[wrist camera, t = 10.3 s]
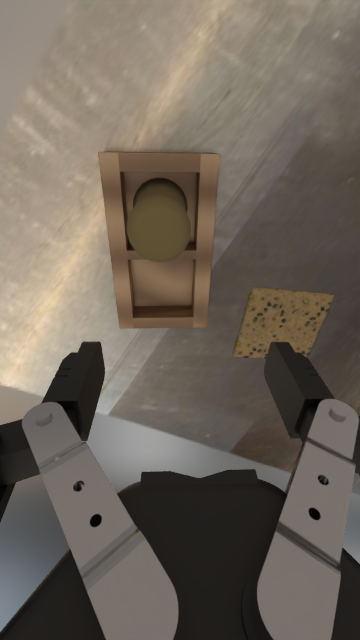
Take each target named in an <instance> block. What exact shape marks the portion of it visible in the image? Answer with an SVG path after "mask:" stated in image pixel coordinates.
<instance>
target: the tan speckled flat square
mask: <svg viewBox="0 0 360 640" xmlns="http://www.w3.org/2000/svg"><path fill="white" fill-rule="evenodd" d="M333 297H334V294H325V293H314V292H303V291H292V290H283V289H271V288H261V287H252V290H251V293H250V294H249V300H248V302H247V306H246V310H245V314H244V317H243V320H242V324H241V328H240V331H239V335H238V338H237V341H236V345H235V348H234V351H233V356H236V357H244V358H249V357H250V358H267V354H268V350H269V346H270V343H271V342H289V343H290V345H291V346H292V348H293V349H294V351H295V352H300V353H301V354H302V355H304V356H305V357H307V356H308V355H309V354H310V350H311V349H312V345H313V343H314V341H315V339H316V336H317V333H318V331H319V328H320V326H321V324H322V322H323V320H324V319H325V317H326V314H327V313H328V312H329V310H330V305H331V304H332V300H333Z"/></svg>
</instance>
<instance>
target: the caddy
mask: <svg viewBox="0 0 360 640" xmlns="http://www.w3.org/2000/svg"><path fill="white" fill-rule="evenodd" d="M98 156H99V164H100V172H101V180H102V188H103V196H104V205H105V213H106V221H107V229H108V237H109V245H110V253H111V262H112V270H113V278H114V286H115V294H116V302H117V310H118V319H119V327H120V329H127V328H186V327H207V316H208V302H209V289H210V276H211V263H212V250H213V237H214V224H215V211H216V198H217V185H218V172H219V159H220V154H216V153H165V152H98ZM158 177H160V178H166V179H169V180H171V181H173V182H175V183H176V184H177V185H178V186H179V187H180V188H181V189H182V190H183V192H184V194H185V196H186V199H187V205H188V210H187V215H188V217H189V219H190V224H191V235H190V240H189V242H188V244H187V246H186V248H185V250H184V251H183V252H182V253H181V254H180V255H179V256H178V257H176V258H174V259H172V260H170V261H166V262H153V261H150V260H147V259H145V258H143V257H142V256H140V255H139V254H138V253H137V252H136V251H135V250H134V248H133V247H132V245H131V243H130V242H129V238H128V234H127V220H128V218H129V215H130V212H131V210H132V209H133V199H134V196H135V193H136V191H137V190H138V188H139V187H140V186H141V185H142V184H143V183H144V182H146V181H148V180H149V179H153V178H158Z"/></svg>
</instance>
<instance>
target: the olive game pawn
mask: <svg viewBox="0 0 360 640" xmlns="http://www.w3.org/2000/svg"><path fill="white" fill-rule="evenodd" d="M187 210H188V205H187V199H186V196H185V194H184V192H183V190H182V189H181V188H180V187H179V186H178V185H177V184H176V183H175V182H173V181H171V180H169V179H166V178H160V177H158V178H153V179H149V180H148V181H146V182H144V183H143V184H142V185H141V186H140V187H139V188H138V190H137V191H136V193H135V196H134V199H133V209H132V210H131V212H130V215H129V218H128V220H127V234H128V238H129V242H130V243H131V245H132V247H133V248H134V250H135V251H136V252H137V253H138V254H139V255H140V256H142V257H143V258H145V259H147V260H150V261H153V262H166V261H170V260H172V259H174V258H176V257H178V256H179V255H180V254H181V253H182V252H183V251H184V250H185V248H186V246H187V244H188V242H189V240H190V235H191V224H190V219H189V217H188V215H187Z"/></svg>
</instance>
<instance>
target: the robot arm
mask: <svg viewBox="0 0 360 640" xmlns="http://www.w3.org/2000/svg"><path fill="white" fill-rule="evenodd" d="M264 375H265V379H266V382H267V384H268V386H269V389H270V391H271V393H272V396H273V398H274V401H275V403H276V405H277V408H278V410H279V412H280V415H281V417H282V420H283V422H284V424H285V427H286V429H287V431H288V434H289V436H290V438H301V441H302V443H303V444H302V446H301V449H300V451H299V454H298V457H297V460H296V462H295V465H294V468H293V471H292V473H291V476H290V479H289V482H288V484H287V487H286V489H285V492H284V491H282V490H281V489H279V488H278V487H276V486H274V485H272V484H270V483H268V482H266V481H263V480H260V479H258V478H257V474H256V471H255V469H251V470H226V471H223V472H220V473H216V474H213V475H210V476H207V477H203V478H195V477H191V476H187V475H183V474H178V473H175V472H171V471H163V472H142V474H141V481H140V482H137V483H134V484H132V485H130V486H128V487H126V488H125V489H123V490H121V491H120V492H119V493H117V494H116V492H115V490H114V489H113V487H112V485H111V483H110V482H109V480H108V478H107V477H106V475H105V473H104V471H103V470H102V468H101V466H100V465H99V463H98V461H97V460H96V458H95V456H94V455H93V453H92V451H91V450H90V448H89V446H88V445H87V443H86V442H82V441H87V439H88V436H89V432H90V429H91V425H92V421H93V418H94V414H95V411H96V407H97V403H98V400H99V396H100V392H101V389H102V385H103V381H104V376H105V367H104V360H103V354H102V347H101V343H100V342H83V343H82V344H81V347H80V349H79V351H78V353H70V354H69V355H68V356H67V357H66V358H64V359H63V360H62V363H61V365H60V367H59V370H58V371H57V373H56V375H55V377H54V379H53V381H52V383H51V385H50V387H49V389H48V391H47V393H46V395H45V397H44V399H43V401H42V403H41V404H39V405H37V406H35V407H33V408H32V409H30V410H29V411H28V412H27V413H26V414H25V416H24V418H23V419H21V420H18V421H14V422H11V423H7V424H3V425H0V522H1V519H2V517H3V514H4V511H5V509H6V506H7V504H8V501H9V498H10V496H11V494H12V491H13V488H14V486H15V483H16V482H18V481H21V480H23V479H27V478H29V477H32V476H36V475H39V474H41V476H42V478H43V481H44V484H45V486H46V489H47V491H48V494H49V496H50V498H51V501H52V504H53V506H54V508H55V511H56V514H57V516H58V519H59V521H60V524H61V526H62V529H63V531H64V534H65V536H66V539H67V542H68V544H69V547H70V549H69V550H68V551H67V552H66V554H65V555H64V556H63V557H62V558H61V560H60V561H59V562H58V563H57V564H56V566H55V567H54V568H53V569H52V570H51V572H50V573H49V574H48V575H47V576H46V578H45V579H44V580H43V581H42V583H41V584H40V585H39V586H38V587H37V589H36V590H35V591H34V592H33V593H32V595H31V596H30V597H29V598H28V599H27V601H26V602H25V603H24V604H23V605H22V607H21V608H20V609H19V611H18V612H17V613H16V614H15V615H14V617H13V618H12V619H11V620H10V621H9V622H8V624H7V625H6V626H5V627H4V628H3V630H2V631H1V632H0V640H360V564H359V563H358V562H357V561H356V560H355V559H354V558H353V557H352V556H351V555H350V554H349V553H347V551H346V550H345V549H344V548H343V547H342V546H343V539H344V534H345V527H346V521H347V515H348V509H349V503H350V497H351V491H352V485H353V479H354V473H359V475H360V416H358V415H357V414H356V412H355V411H354V410H353V409H352V408H351V407H350V406H349V405H347V404H345V403H343V402H341V401H339V400H335V398H334V397H333V395H332V394H331V392H330V391H329V389H328V388H327V386H326V385H325V383H324V382H323V380H322V379H321V377H320V376H319V375H318V373H317V371H316V370H315V369H314V367H313V365H312V364H311V362H310V361H309V359H308V358H306V357H305V356H304V355H302V354H301V353H300V352H295V351H294V349H293V348H292V346H291V345H290V343H289V342H271V343H270V346H269V350H268V354H267V358H266V362H265V367H264Z"/></svg>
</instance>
